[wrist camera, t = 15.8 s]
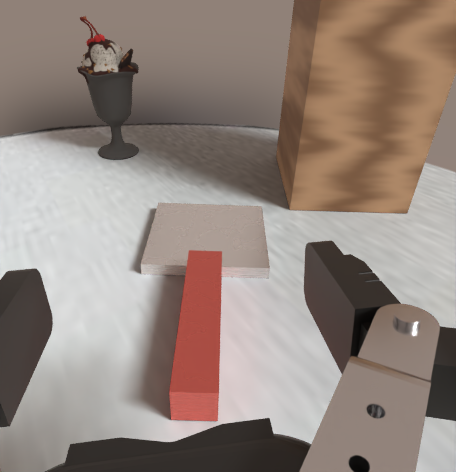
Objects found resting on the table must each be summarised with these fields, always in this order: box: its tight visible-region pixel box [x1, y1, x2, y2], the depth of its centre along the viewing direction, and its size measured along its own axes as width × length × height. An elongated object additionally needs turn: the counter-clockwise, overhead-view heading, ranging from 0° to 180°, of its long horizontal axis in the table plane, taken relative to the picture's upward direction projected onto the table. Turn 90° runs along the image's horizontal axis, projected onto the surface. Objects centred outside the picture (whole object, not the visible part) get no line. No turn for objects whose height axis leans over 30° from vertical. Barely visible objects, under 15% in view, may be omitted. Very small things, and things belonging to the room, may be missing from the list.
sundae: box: [77, 17, 139, 160], centre depth 46 cm, size 7×7×15 cm
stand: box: [276, 0, 456, 213], centre depth 36 cm, size 12×13×34 cm
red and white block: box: [141, 203, 270, 421], centre depth 30 cm, size 10×22×2 cm, turn 0°
